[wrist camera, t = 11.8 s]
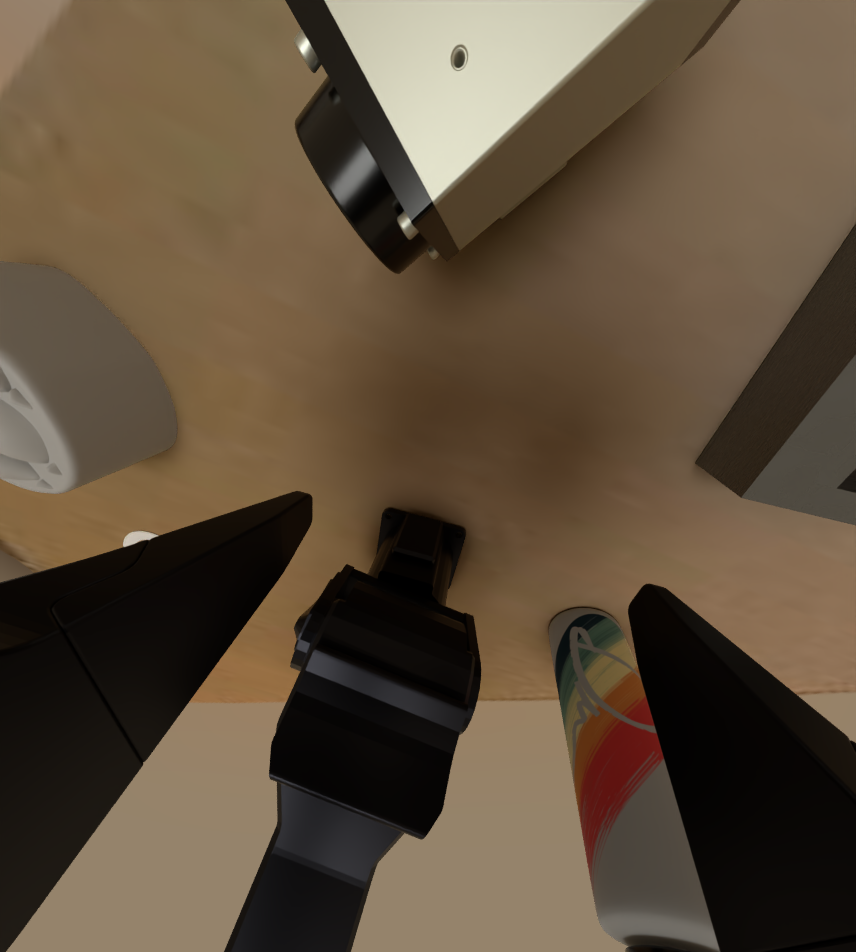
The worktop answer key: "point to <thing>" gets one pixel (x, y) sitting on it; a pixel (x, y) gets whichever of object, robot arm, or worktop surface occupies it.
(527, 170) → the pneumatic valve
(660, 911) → the lotion bottle
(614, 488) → the worktop surface
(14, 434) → the lumpy-topped squat cylinder
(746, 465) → the socket block
